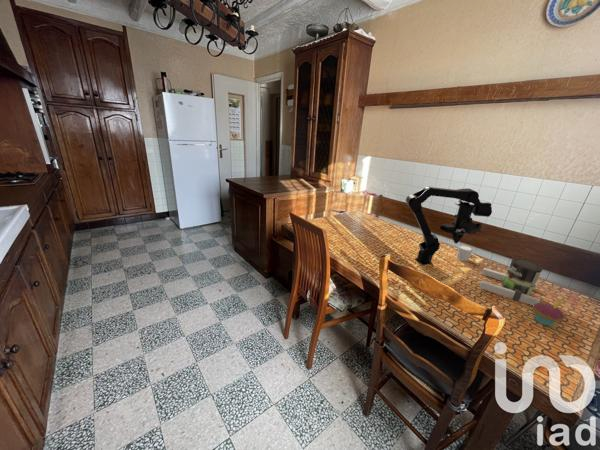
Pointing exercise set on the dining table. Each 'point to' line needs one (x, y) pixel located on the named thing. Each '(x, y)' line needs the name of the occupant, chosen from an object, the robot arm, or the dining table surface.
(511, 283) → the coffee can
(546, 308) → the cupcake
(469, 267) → the dining table surface
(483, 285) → the guide track
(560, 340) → the dining table surface
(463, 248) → the shot glass
